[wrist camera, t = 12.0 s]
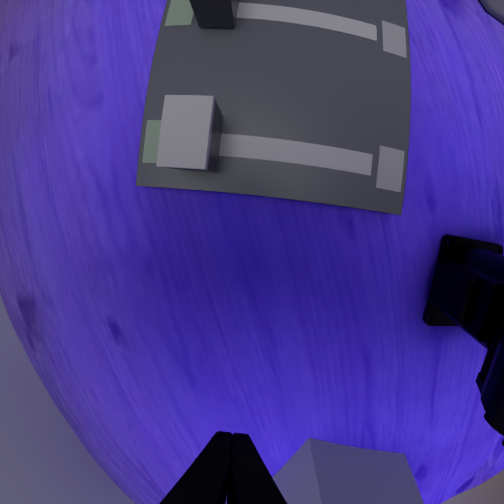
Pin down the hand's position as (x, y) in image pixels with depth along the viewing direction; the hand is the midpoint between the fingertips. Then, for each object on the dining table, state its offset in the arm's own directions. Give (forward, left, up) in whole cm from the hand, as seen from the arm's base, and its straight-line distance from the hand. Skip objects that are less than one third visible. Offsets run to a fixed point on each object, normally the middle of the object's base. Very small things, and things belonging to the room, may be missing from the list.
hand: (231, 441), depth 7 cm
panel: (-1, -17, -12) cm, 21 cm away
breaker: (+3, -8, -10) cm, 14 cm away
